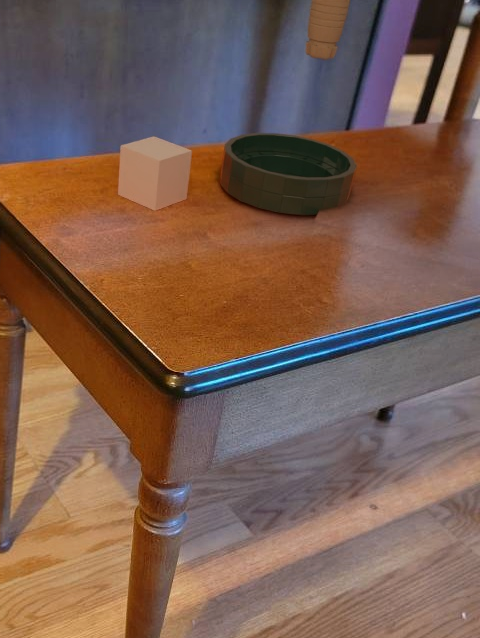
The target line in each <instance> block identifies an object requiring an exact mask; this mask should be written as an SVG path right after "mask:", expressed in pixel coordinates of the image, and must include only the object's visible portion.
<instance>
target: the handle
mask: <svg viewBox="0 0 480 638" xmlns="http://www.w3.org/2000/svg"><path fill="white" fill-rule="evenodd" d="M350 4H351V0H311V3H310V9H309V16H308V22H307V23H308V25H307V38H308V40H306V42H305V54H306V55H307V56H310V57H311V58H312V59H321V60H325V61H326V60H331V59H332V60H333V59H334V58H335V57H336V53H337V52H338V48H339V46H338V45H337V43H338V42H339V41H340V39H341V36H342V33H343V31H344V26H345V24H346V20H347V18H348V12H349V9H350V8H349V7H350Z"/></svg>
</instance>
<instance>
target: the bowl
mask: <svg viewBox="0 0 480 638" xmlns="http://www.w3.org/2000/svg"><path fill="white" fill-rule="evenodd" d="M357 169H358V164H357V163H356V161H355V158H354V157H353V156H351V155H349V154H348V153H347V152H345V151H344V150H343V149H340V148H338V147H336V146H334V145H332V144H329V143H326V142H323V141H320V140H316V139H314V138H310V137H304V136H299V135H293V134H287V133H286V134H285V133H275V132H255V133H254V132H253V133H245V134H243V133H242V134H240V135H237V136H234V137H231V138H229V140H227V142H225V143H224V147H223V153H222V161H221V168H220V174H219V182H220V183H219V184H220V186H221V188H222V189H223V190H224V191H225V192H226V193H227V194H228V195H229V196H231V197H232V198H234V199H236V200H238V201H239V202H242V203H244V204H247V205H249V206H252V207H255V208H258V209H261V210H266V211H270V212H275V213H279V214H286V215H287V214H288V215H295V216H296V215H297V216H315V215H316V216H318V214H319V212H320V211H324V210H329V209H332V208H333V209H334V208H338V207H340V206H341V205H343V204H345V203H347V202H348V200H349V198H350V195H351V191H352V188H353V185H354V179H355V175H356V172H357Z"/></svg>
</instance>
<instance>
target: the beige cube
mask: <svg viewBox="0 0 480 638" xmlns="http://www.w3.org/2000/svg"><path fill="white" fill-rule="evenodd" d="M119 152H120V153H119V168H118V169H119V171H118V187H117V195H118V196H120V197H122V198H124V199H126V200H129V201H132V202H134V203H135V204H138V205H140V206H143V207H145V208H147V209H149V210H152V211H154V212H156V211H158V210H161V209H164V208H167V207H169V206H172V205H174V204H178V203H180V202H182V201H185V200H188V199H187V198H188V192H189V191H188V190H189V181H190V175H191V174H190V172H191V165H192V155H193V149H189V148H186V147H184V146H182V145H178V144H176V143H173V142H170V141H167V140H165V139H162V138H159V137H157V136H150V137H147V138H142V139H140V140H135V141H131V142H129V143H125V144H121V145H120V151H119Z"/></svg>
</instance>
